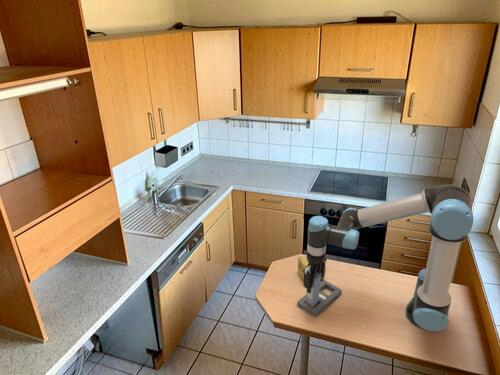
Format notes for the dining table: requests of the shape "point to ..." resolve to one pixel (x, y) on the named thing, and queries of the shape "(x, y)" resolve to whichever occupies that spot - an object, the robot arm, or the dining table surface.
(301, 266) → the cheese
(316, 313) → the port panel
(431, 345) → the dining table surface
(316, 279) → the plug
